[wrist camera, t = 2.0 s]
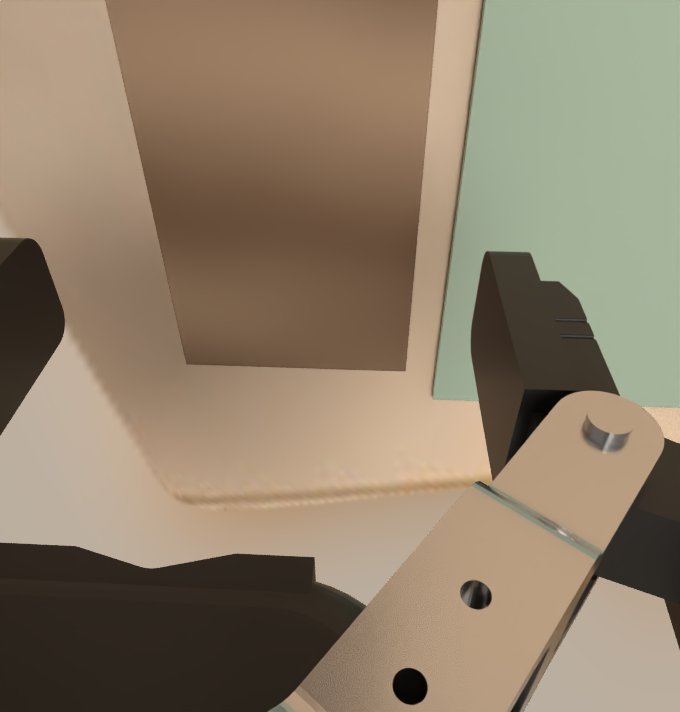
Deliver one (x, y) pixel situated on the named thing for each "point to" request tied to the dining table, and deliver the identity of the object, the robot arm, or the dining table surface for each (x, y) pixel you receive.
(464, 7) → the dining table surface
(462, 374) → the mat
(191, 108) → the stool
